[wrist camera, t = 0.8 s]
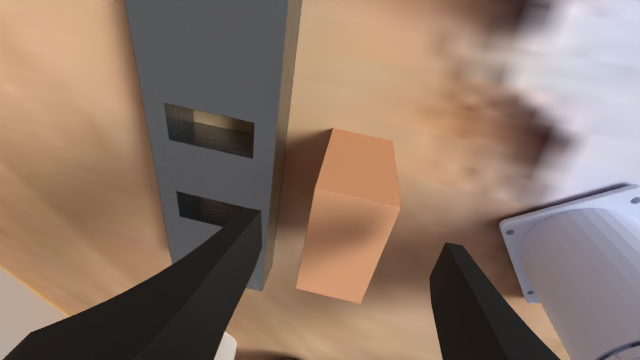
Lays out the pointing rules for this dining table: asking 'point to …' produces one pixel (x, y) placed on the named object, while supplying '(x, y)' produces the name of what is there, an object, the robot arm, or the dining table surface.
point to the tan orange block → (349, 216)
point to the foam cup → (226, 348)
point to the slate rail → (216, 111)
